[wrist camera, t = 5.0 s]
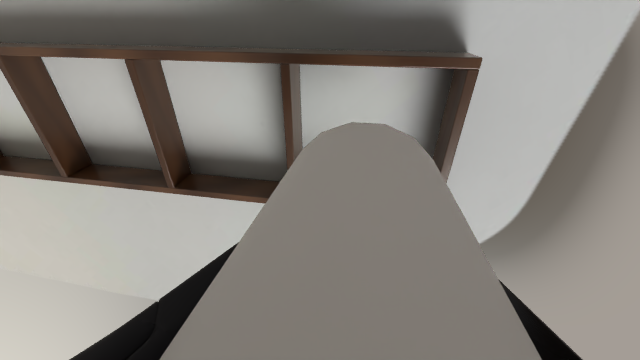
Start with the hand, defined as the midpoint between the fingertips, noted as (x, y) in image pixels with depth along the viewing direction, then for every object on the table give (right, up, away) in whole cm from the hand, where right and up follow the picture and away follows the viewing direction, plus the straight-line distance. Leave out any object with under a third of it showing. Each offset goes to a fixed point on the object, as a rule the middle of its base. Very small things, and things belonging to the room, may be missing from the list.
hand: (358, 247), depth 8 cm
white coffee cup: (+1, +2, +3) cm, 3 cm away
